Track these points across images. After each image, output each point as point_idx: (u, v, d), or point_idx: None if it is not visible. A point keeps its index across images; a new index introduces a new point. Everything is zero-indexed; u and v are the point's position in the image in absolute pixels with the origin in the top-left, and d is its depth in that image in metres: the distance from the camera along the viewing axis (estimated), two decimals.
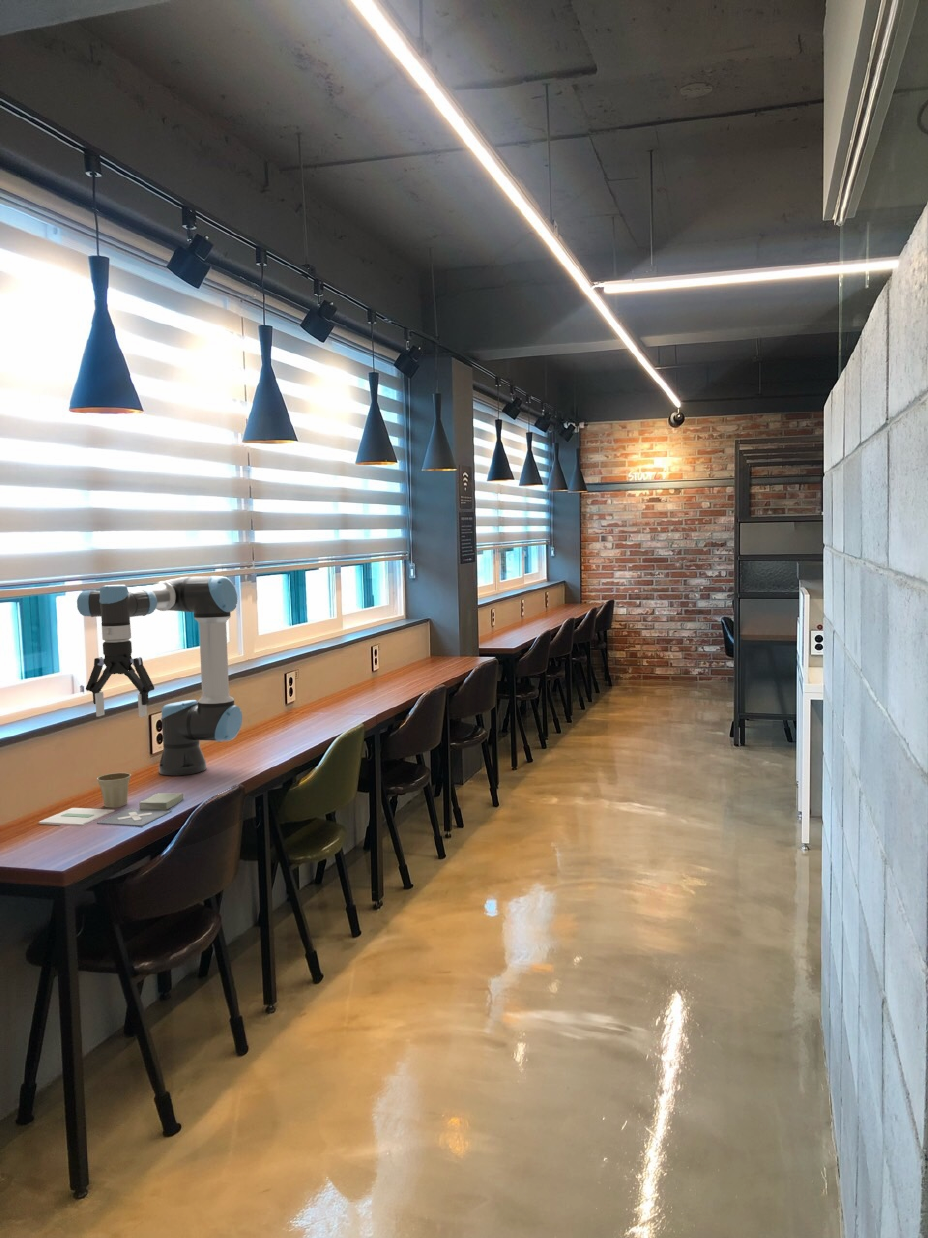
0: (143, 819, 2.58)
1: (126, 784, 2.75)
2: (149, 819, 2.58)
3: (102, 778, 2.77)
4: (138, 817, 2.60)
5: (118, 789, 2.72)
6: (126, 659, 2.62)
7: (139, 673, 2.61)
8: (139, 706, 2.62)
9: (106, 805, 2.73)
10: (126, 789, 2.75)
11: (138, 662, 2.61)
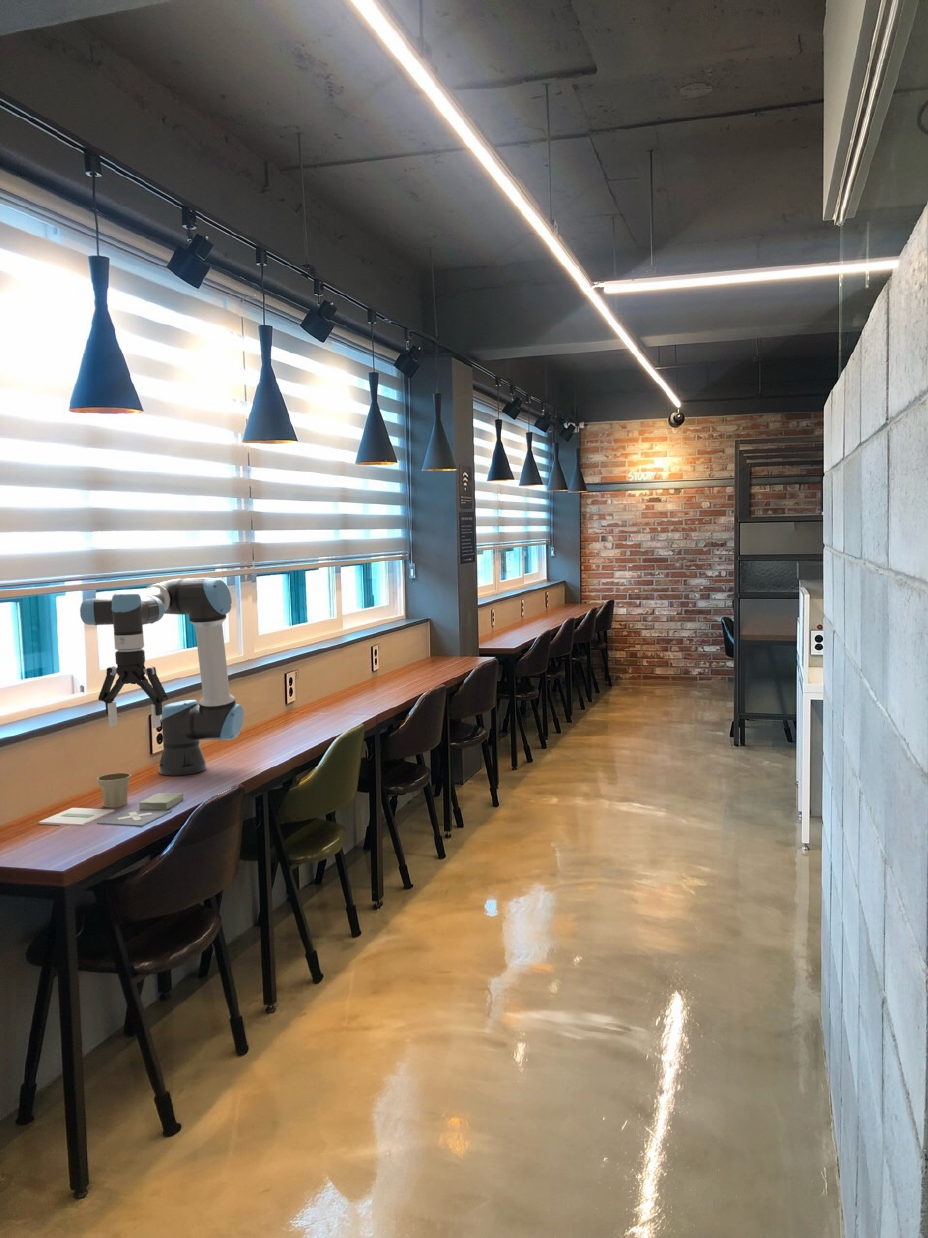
0: (143, 819, 2.58)
1: (126, 784, 2.75)
2: (149, 819, 2.58)
3: (102, 778, 2.77)
4: (138, 817, 2.60)
5: (118, 789, 2.72)
6: (139, 669, 2.56)
7: (152, 683, 2.55)
8: (153, 717, 2.56)
9: (106, 805, 2.73)
10: (126, 789, 2.75)
11: (151, 672, 2.56)
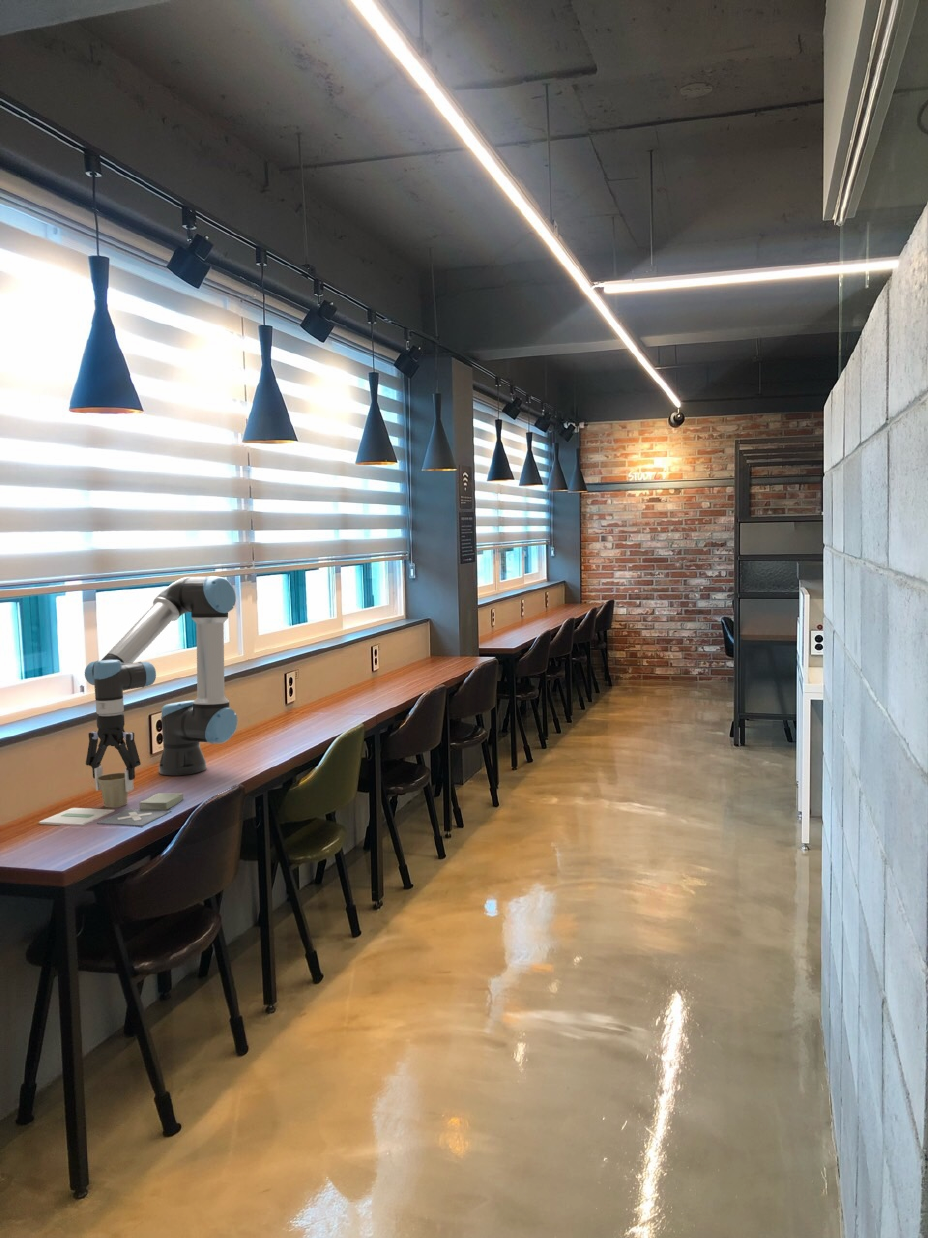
0: (143, 819, 2.58)
1: None
2: (149, 819, 2.58)
3: (102, 778, 2.77)
4: (138, 817, 2.60)
5: (117, 789, 2.72)
6: (119, 732, 2.72)
7: (129, 748, 2.72)
8: (126, 781, 2.73)
9: (106, 805, 2.73)
10: None
11: (130, 738, 2.72)
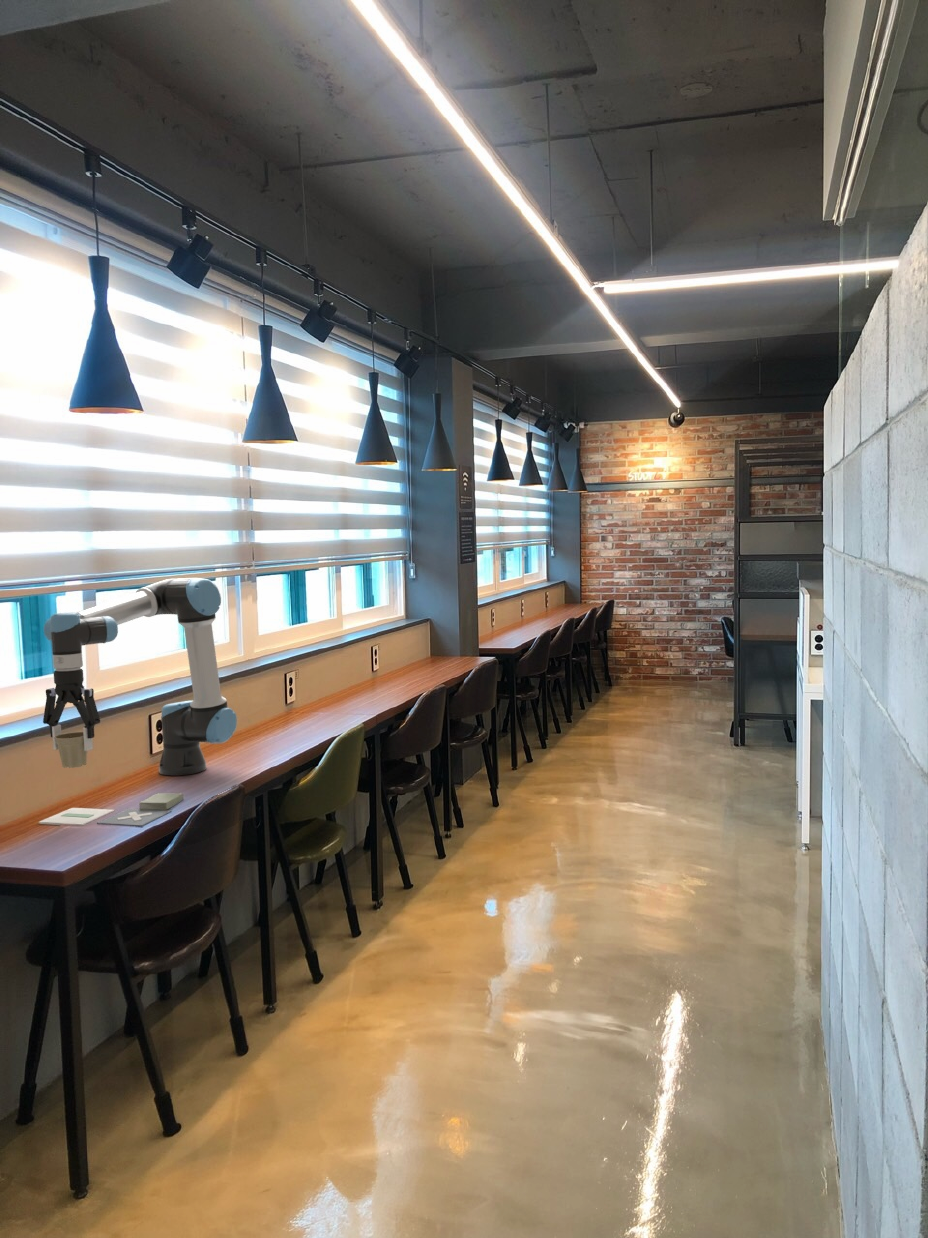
0: (143, 819, 2.58)
1: None
2: (149, 819, 2.58)
3: (60, 737, 2.64)
4: (138, 817, 2.60)
5: (76, 748, 2.60)
6: (77, 688, 2.59)
7: (87, 705, 2.59)
8: (84, 740, 2.60)
9: (64, 765, 2.60)
10: None
11: (89, 694, 2.59)
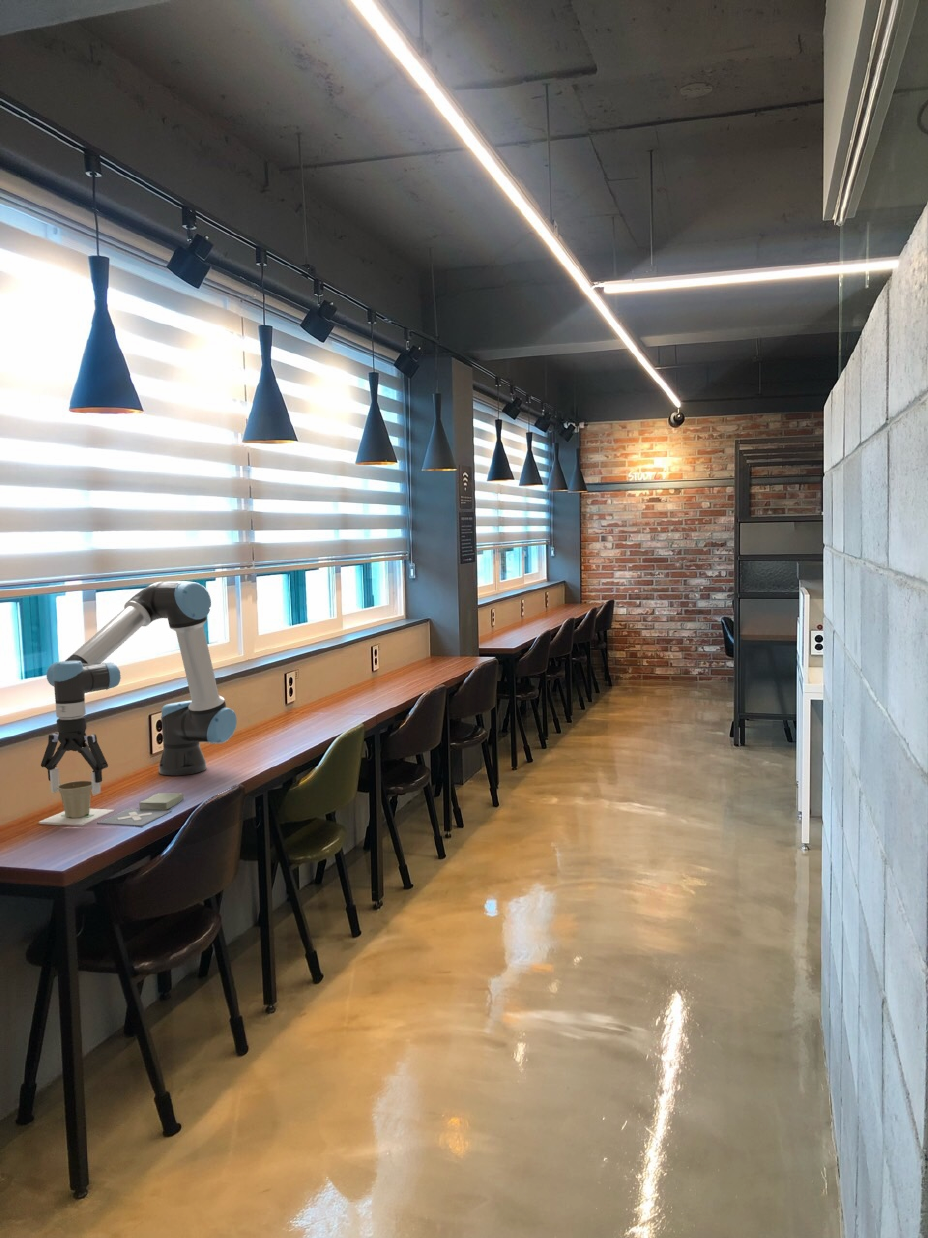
0: (143, 819, 2.58)
1: (88, 793, 2.63)
2: (149, 819, 2.58)
3: (64, 786, 2.65)
4: (138, 817, 2.60)
5: (79, 798, 2.61)
6: (80, 736, 2.60)
7: (92, 751, 2.60)
8: (92, 784, 2.60)
9: (67, 815, 2.62)
10: (88, 798, 2.63)
11: (92, 740, 2.60)
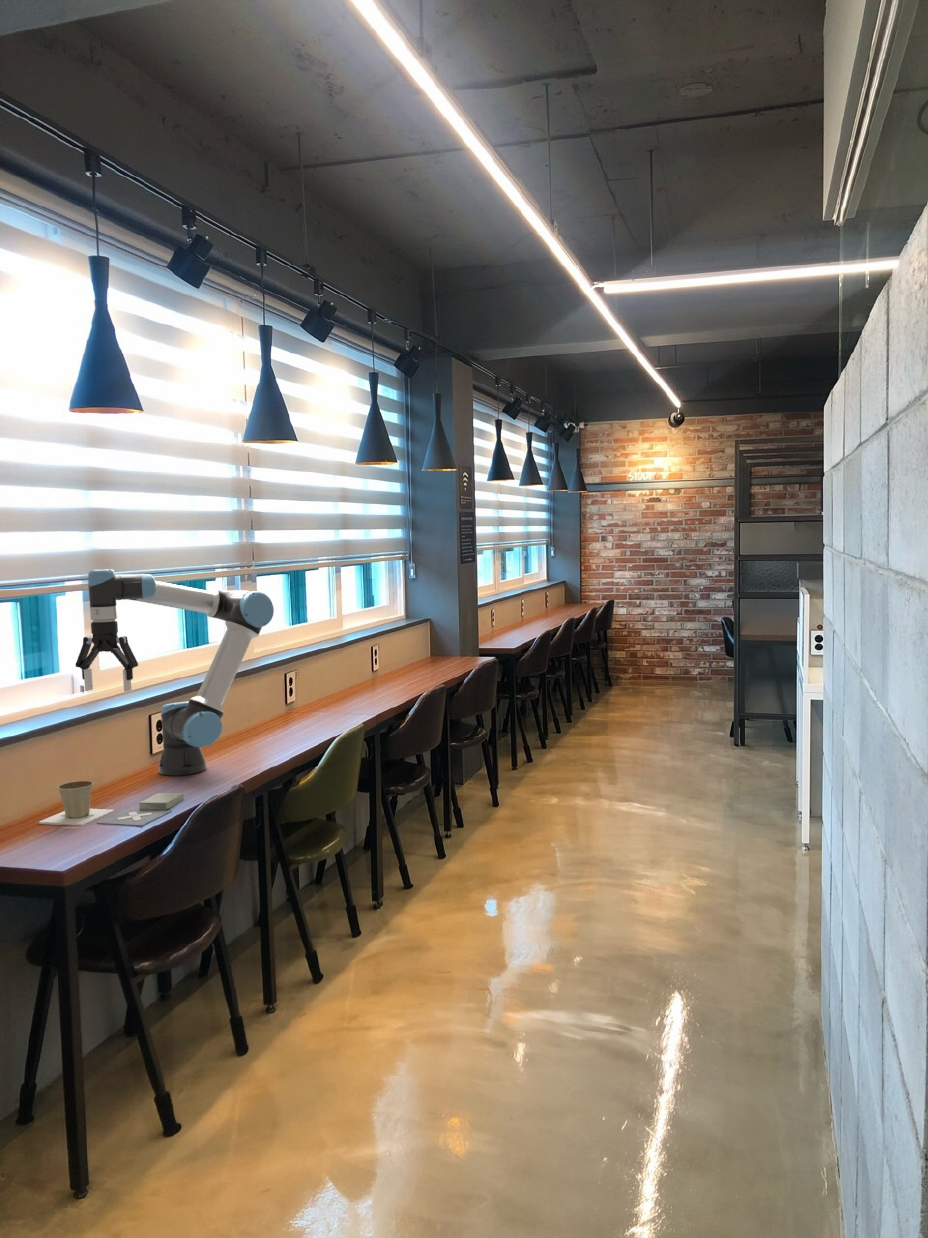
0: (143, 819, 2.58)
1: (88, 793, 2.63)
2: (149, 819, 2.58)
3: (64, 786, 2.65)
4: (138, 817, 2.60)
5: (79, 798, 2.61)
6: (112, 638, 2.84)
7: (124, 650, 2.83)
8: (124, 681, 2.84)
9: (67, 815, 2.62)
10: (88, 798, 2.63)
11: (123, 640, 2.84)
